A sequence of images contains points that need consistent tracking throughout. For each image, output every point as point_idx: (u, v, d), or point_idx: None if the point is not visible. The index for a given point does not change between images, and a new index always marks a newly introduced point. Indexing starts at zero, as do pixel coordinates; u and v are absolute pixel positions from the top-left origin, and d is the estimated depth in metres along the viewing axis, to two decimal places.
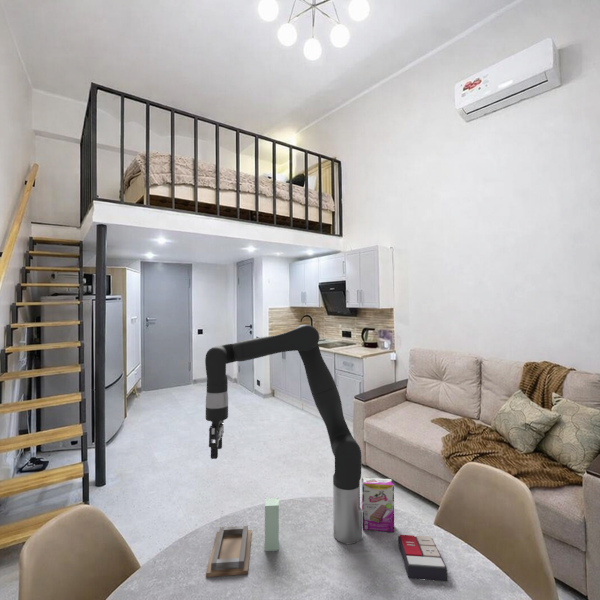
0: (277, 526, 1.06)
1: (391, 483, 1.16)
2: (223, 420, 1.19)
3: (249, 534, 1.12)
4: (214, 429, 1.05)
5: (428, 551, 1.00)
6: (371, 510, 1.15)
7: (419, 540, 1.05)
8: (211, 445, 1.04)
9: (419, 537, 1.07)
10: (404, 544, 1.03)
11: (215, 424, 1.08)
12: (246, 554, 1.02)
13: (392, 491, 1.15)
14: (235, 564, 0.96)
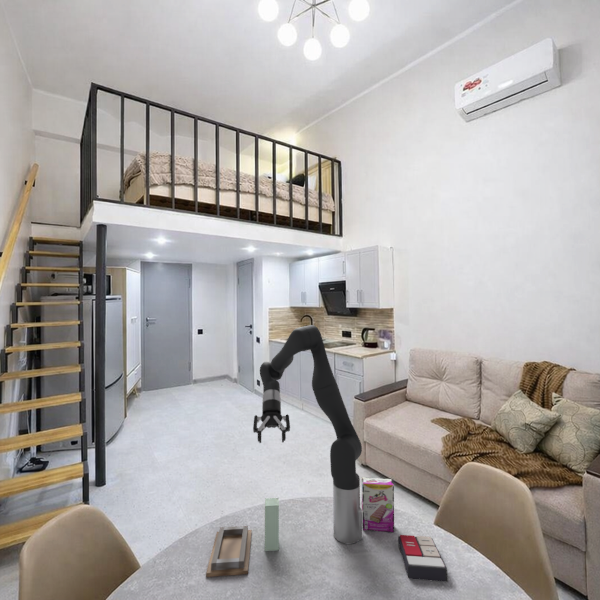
0: (277, 526, 1.06)
1: (391, 483, 1.16)
2: (288, 417, 1.30)
3: (249, 534, 1.12)
4: None
5: (428, 551, 1.00)
6: (371, 510, 1.15)
7: (419, 540, 1.05)
8: None
9: (419, 537, 1.07)
10: (404, 544, 1.03)
11: None
12: (246, 554, 1.02)
13: (392, 491, 1.15)
14: (235, 564, 0.96)
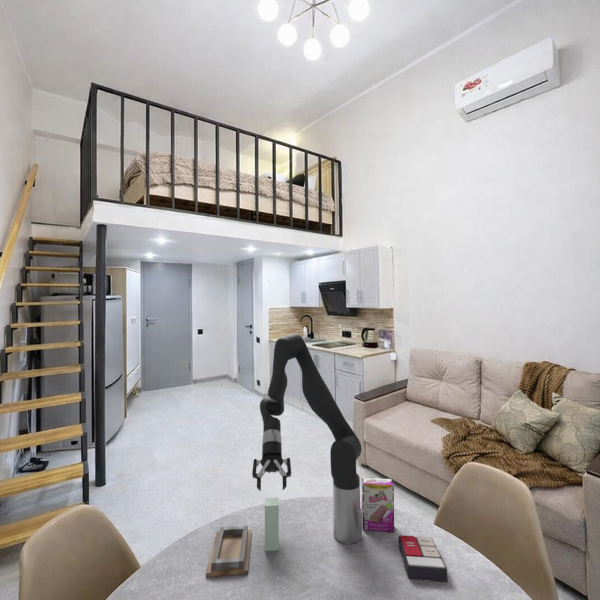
0: (277, 526, 1.06)
1: (391, 483, 1.16)
2: (289, 461, 1.23)
3: (249, 534, 1.12)
4: None
5: (428, 552, 1.00)
6: (371, 510, 1.15)
7: (419, 541, 1.05)
8: None
9: (419, 538, 1.07)
10: (404, 545, 1.03)
11: None
12: (246, 554, 1.02)
13: (392, 491, 1.15)
14: (235, 564, 0.96)
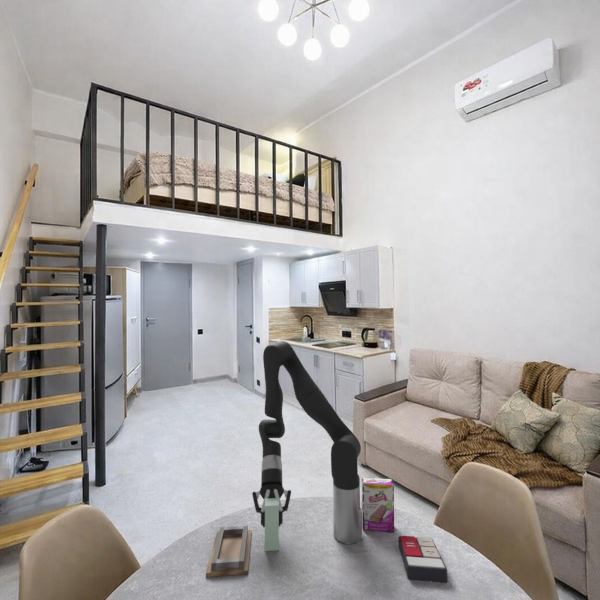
0: (277, 526, 1.06)
1: (391, 483, 1.16)
2: (290, 494, 1.13)
3: (249, 534, 1.12)
4: None
5: (428, 552, 0.99)
6: (371, 510, 1.15)
7: (419, 541, 1.05)
8: (256, 509, 1.10)
9: (419, 538, 1.06)
10: (404, 545, 1.03)
11: None
12: (246, 554, 1.02)
13: (392, 491, 1.15)
14: (235, 564, 0.96)
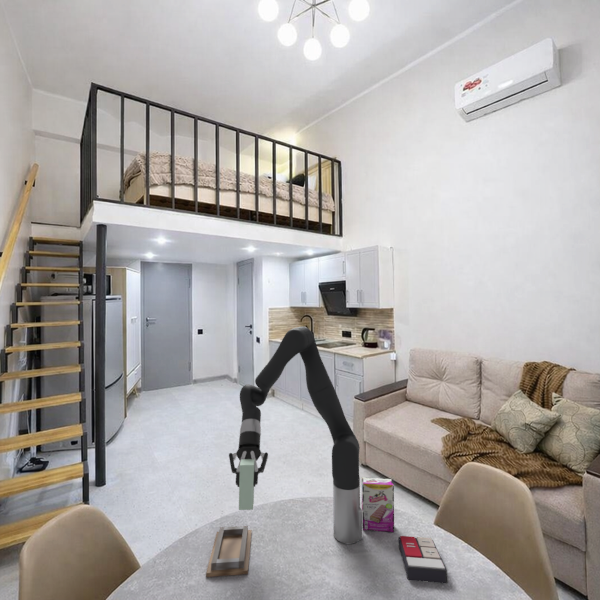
0: (252, 485, 1.06)
1: (391, 483, 1.16)
2: (266, 456, 1.12)
3: (249, 534, 1.12)
4: (229, 455, 1.13)
5: (428, 553, 0.99)
6: (371, 510, 1.15)
7: (419, 541, 1.05)
8: None
9: (419, 538, 1.06)
10: (404, 545, 1.03)
11: None
12: (246, 554, 1.02)
13: (392, 491, 1.15)
14: (235, 564, 0.96)
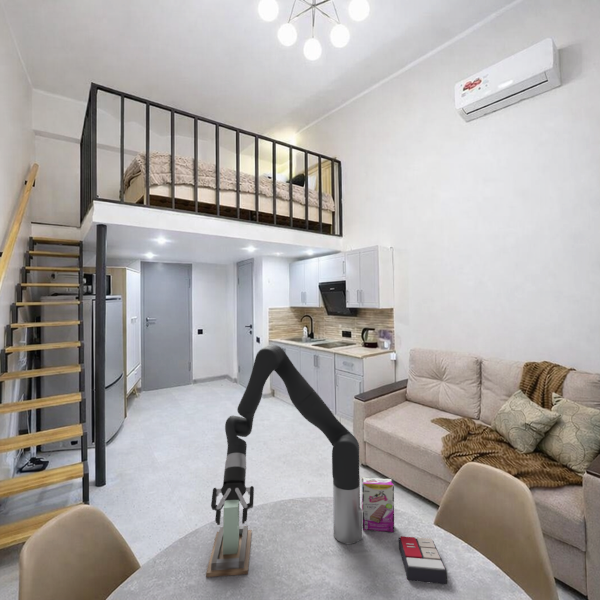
0: (236, 529, 1.03)
1: (391, 483, 1.16)
2: (253, 490, 1.11)
3: (249, 534, 1.12)
4: None
5: (428, 553, 0.99)
6: (371, 510, 1.15)
7: (419, 542, 1.04)
8: None
9: (420, 539, 1.06)
10: (404, 546, 1.03)
11: None
12: (246, 554, 1.02)
13: (392, 491, 1.15)
14: (235, 564, 0.96)
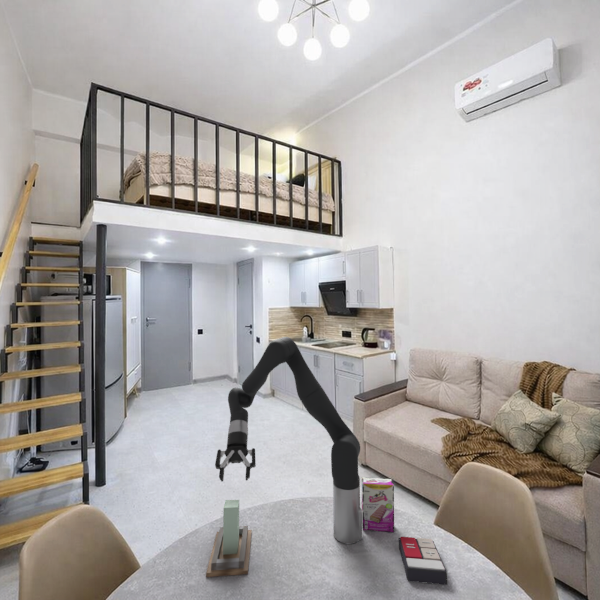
0: (236, 529, 1.03)
1: (391, 483, 1.16)
2: (254, 451, 1.21)
3: (249, 534, 1.12)
4: None
5: (428, 554, 0.99)
6: (371, 510, 1.15)
7: (420, 542, 1.04)
8: None
9: (420, 539, 1.06)
10: (404, 546, 1.02)
11: None
12: (246, 554, 1.02)
13: (392, 491, 1.15)
14: (235, 564, 0.96)
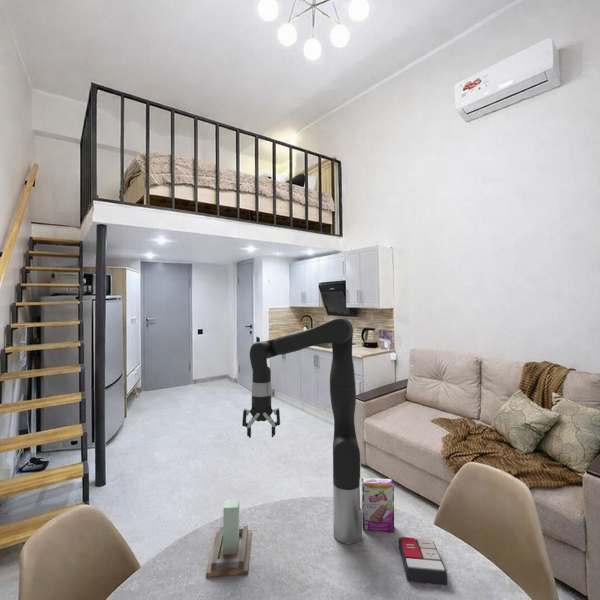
0: (236, 529, 1.03)
1: (391, 483, 1.16)
2: (279, 413, 1.24)
3: (249, 534, 1.12)
4: None
5: (428, 554, 0.99)
6: (371, 510, 1.15)
7: (420, 543, 1.04)
8: None
9: (420, 540, 1.06)
10: (404, 546, 1.02)
11: None
12: (246, 554, 1.02)
13: (392, 491, 1.15)
14: (235, 564, 0.96)
